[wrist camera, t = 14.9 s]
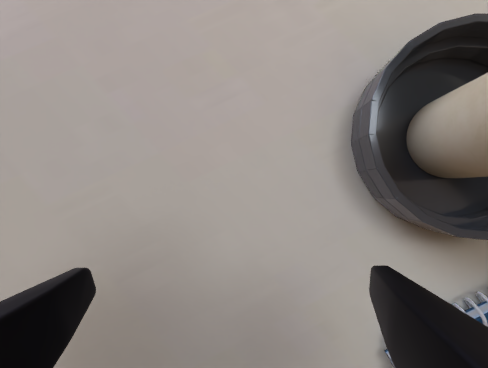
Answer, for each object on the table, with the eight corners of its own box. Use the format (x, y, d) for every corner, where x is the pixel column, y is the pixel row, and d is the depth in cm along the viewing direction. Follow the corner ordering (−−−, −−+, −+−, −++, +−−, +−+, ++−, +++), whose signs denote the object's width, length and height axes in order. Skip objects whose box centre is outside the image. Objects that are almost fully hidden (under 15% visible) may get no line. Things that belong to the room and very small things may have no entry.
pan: (580, 169, 18) (660, 164, 14) (411, 263, 19) (446, 281, 15) (475, 12, 19) (526, -30, 15) (315, 108, 19) (327, 90, 16)
